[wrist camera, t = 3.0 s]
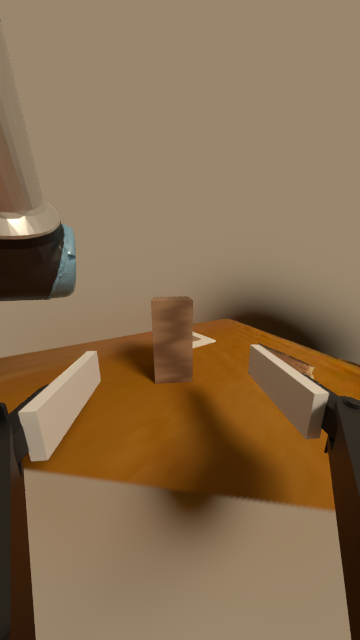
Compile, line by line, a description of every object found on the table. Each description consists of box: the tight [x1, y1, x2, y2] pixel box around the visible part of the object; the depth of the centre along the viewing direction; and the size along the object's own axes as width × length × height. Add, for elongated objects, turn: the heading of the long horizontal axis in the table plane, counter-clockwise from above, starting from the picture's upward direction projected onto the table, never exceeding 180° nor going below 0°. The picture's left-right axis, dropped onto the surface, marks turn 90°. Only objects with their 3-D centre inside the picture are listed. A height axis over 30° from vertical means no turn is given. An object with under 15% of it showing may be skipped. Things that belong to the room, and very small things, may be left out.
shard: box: [258, 343, 314, 379], centre depth 28 cm, size 11×8×2 cm
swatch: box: [193, 332, 216, 348], centre depth 39 cm, size 9×9×1 cm
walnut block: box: [151, 297, 193, 384], centre depth 24 cm, size 5×5×11 cm
